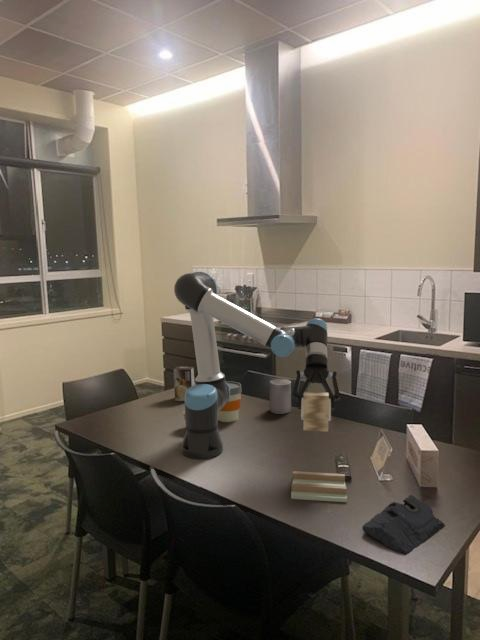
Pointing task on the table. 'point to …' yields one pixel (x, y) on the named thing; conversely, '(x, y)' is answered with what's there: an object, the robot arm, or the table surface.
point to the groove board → (319, 486)
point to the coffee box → (183, 381)
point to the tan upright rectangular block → (316, 411)
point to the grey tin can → (280, 396)
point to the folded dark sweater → (404, 525)
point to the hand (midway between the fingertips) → (315, 418)
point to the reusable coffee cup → (231, 404)
